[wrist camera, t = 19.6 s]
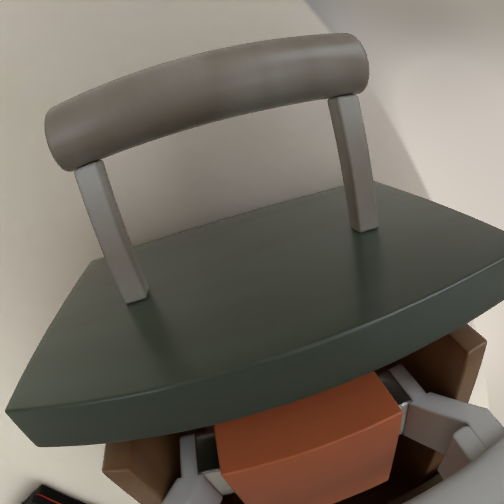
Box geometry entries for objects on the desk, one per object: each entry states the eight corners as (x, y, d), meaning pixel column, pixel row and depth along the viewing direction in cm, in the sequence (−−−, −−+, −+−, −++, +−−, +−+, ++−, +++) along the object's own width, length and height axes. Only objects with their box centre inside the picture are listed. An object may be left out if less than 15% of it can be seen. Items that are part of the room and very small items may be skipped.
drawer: (48, 140, 9) (-113, 171, 2) (345, 59, 10) (508, 12, 3) (202, 454, 17) (218, 566, 9) (379, 397, 18) (440, 489, 10)
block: (204, 358, 10) (220, 476, 6) (335, 317, 10) (404, 411, 6) (240, 432, 11) (262, 524, 7) (343, 398, 12) (388, 480, 8)
